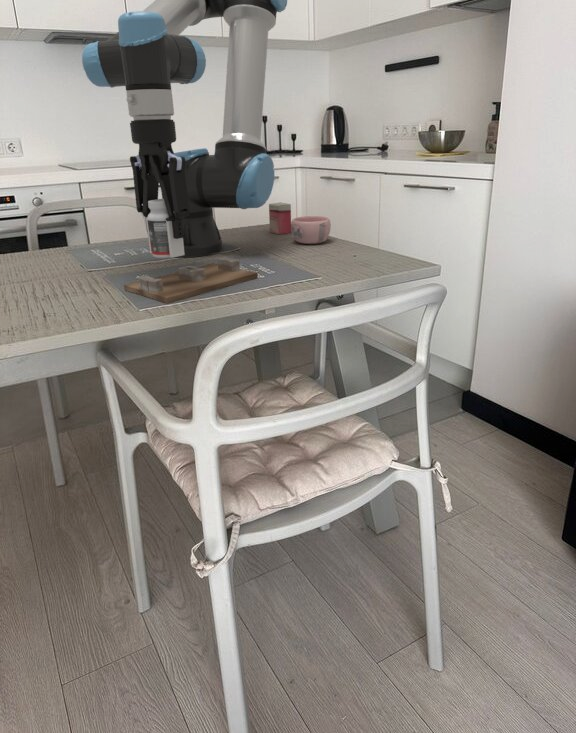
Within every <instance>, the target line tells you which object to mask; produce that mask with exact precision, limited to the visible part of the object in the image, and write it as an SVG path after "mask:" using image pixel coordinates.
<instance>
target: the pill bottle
mask: <svg viewBox="0 0 576 733" xmlns="http://www.w3.org/2000/svg"><path fill="white" fill-rule="evenodd" d="M148 207H149V209H150V210H151V213H150V214H149V215H148V217H147V220H148V228H149V236H150V244H151V252H152V253H151V255H152V256H153V257H154V258H158V259H170V258H171V259H172V257H170V252H169V243H168V234H167V225H166V219H165V218H168V213H167V209H166V206H165V202H164V199H162V198H158V199H155V200H150V201H148Z"/></svg>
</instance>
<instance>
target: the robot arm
mask: <svg viewBox="0 0 576 733" xmlns="http://www.w3.org/2000/svg"><path fill="white" fill-rule="evenodd" d="M287 5H288V0H154V1H153V2H151V3H150V4H149V5H148V6H147V7H146V8H145V9H143V10H142V11H141V10H140V11H139V10H138V11H129V12H124V13H122V14H121V15H119V17H118V20H117V27H118V28H117V29H118V32H116V33H115V34H114V35H113V36H111V37H110V38H108V39H107V40H105V41H103V40H102V41H101V40H96V41H95V42H91V43H88V44H86V45H85V47H84V49H83V52H82V53H81V54H82V57H81V60H82V61H81V62H82V68H83V70H84V72H85V75H86V77H87V79H88V80H89V81H90V82H91V83H92V84H93V85H95V86H96V87H100V88H104V87H108V88H111V89H113V88H116V87H125V92H126V103H127V107H128V116H130V118H133V120H130V122H129V127H130V134H131V135H130V136H131V141H132V143H133V144H135V145H138V154H137V155H132V156H130V157H129V162H130V165H131V168H132V175H133V185H134V186H133V187H134V193H135V196H134V197H135V204H136V205H135V207H136V211H137V212H138V213H141V214H142V216H143V217H144V218H145V226H146V233H147V237H148V238H147V239H148V245H149V246H148V247H149V253H150V254H152V252H151V244H150V236H149V228H148V220H147V217H148V215H149V214H150V213H151V210H150V209H149V207H148V201H150V200H155V199H159V186H160V191H161V199H164V202H165V206H166V209H167V213H168V218H165V219H166V225H167V234H168V243H169V252H170V257H171V259H172V258H194V257H195V258H196V257H202V256H203V257H204V256H210V255H214V254H217V253H220V252H222V251H223V249H224V244H223V238H222V236H221V233H220V232H219V229H218V225H217V224H216V221H215V217H214V210H213V209H214V208H215V209H217V208H218V209H241V210H247V209H257V208H261V207H263V206H264V205H265V204H266V203H267V201H269V198H270V196H271V194H272V191H273V188H274V182H275V170H274V168H275V165H274V161H273V159H272V157H271V156H270V155H269V154H267V151H268V150H267V148H266V146H265V145H264V144H263V142H262V140H261V138H262V137H261V136H262V124H263V111H264V96H265V84H266V83H265V82H266V70H267V67H266V66H267V54H268V42H269V41H268V40H269V31H271V30H272V29H273V28H274V27H275V26H276V22H277V14H278V13H282V12H284V11H285V10H286V7H287ZM222 17H223V20H224V21H225V23H226V24H227V25H228V26H229V30H228V45H227V46H228V47H227V59H226V61H227V63H226V76H225V77H226V79H225V91H224V109H223V111H224V112H223V125H222V126H223V127H222V137H221V138H220V139H218V140H217V141H216V142H215V143H214V144H215V145H214V146H215V147H214V153H213V154H210V152H209V150H208V149H207V148H206V147H205V148H203V147H202V148H196V149H191V150H184V151H178V152H174V150H173V147H172V146H173V145H172V144H173V143H176V141H177V133H176V123H175V121H174V119H171V118H172V116H174V115H175V108H174V101H173V92H172V91H173V90H172V84H180V85H188V84H194V83H196V82H198V81H199V80H200V79H201V78H202V77H203V75H204V73H205V70H206V67H207V66H206V65H207V60H206V55H205V50H204V49H203V47H202V46H201V45H200V43H198V42H197V41H196V40H194V39H192V38H189V37H188V36H187V35H181V34H182V33H183V32H184V31H185V30H186V29H187V28H188V27H192V26H196V25H199V23H201V22H202V21H204V20H206V19H207V20H209V19H213V18H222Z"/></svg>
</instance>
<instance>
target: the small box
mask: <svg viewBox="0 0 576 733" xmlns="http://www.w3.org/2000/svg"><path fill="white" fill-rule="evenodd" d="M268 213H269V214H268V215H269V217H268V218H269V232H270V233H271V234H276V235H287V234H292V231H291V222H292V205H291V203H287V202H273V203H268Z"/></svg>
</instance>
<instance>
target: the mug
mask: <svg viewBox="0 0 576 733" xmlns="http://www.w3.org/2000/svg"><path fill="white" fill-rule="evenodd" d="M331 226H332V225H331V220H330V218H329V217H328V216H321V215H320V216H319V215H310V216H309V215H307V216H306V215H305V216H299V217H294V218H292V219H291V234H292V236H293V239H294V240H295V241H296V242H297V243H300V244H304V245H315V244H320V243H321V244H322V243H324V242H326V241H327V240H328V238H329V235H330V233H331Z"/></svg>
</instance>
